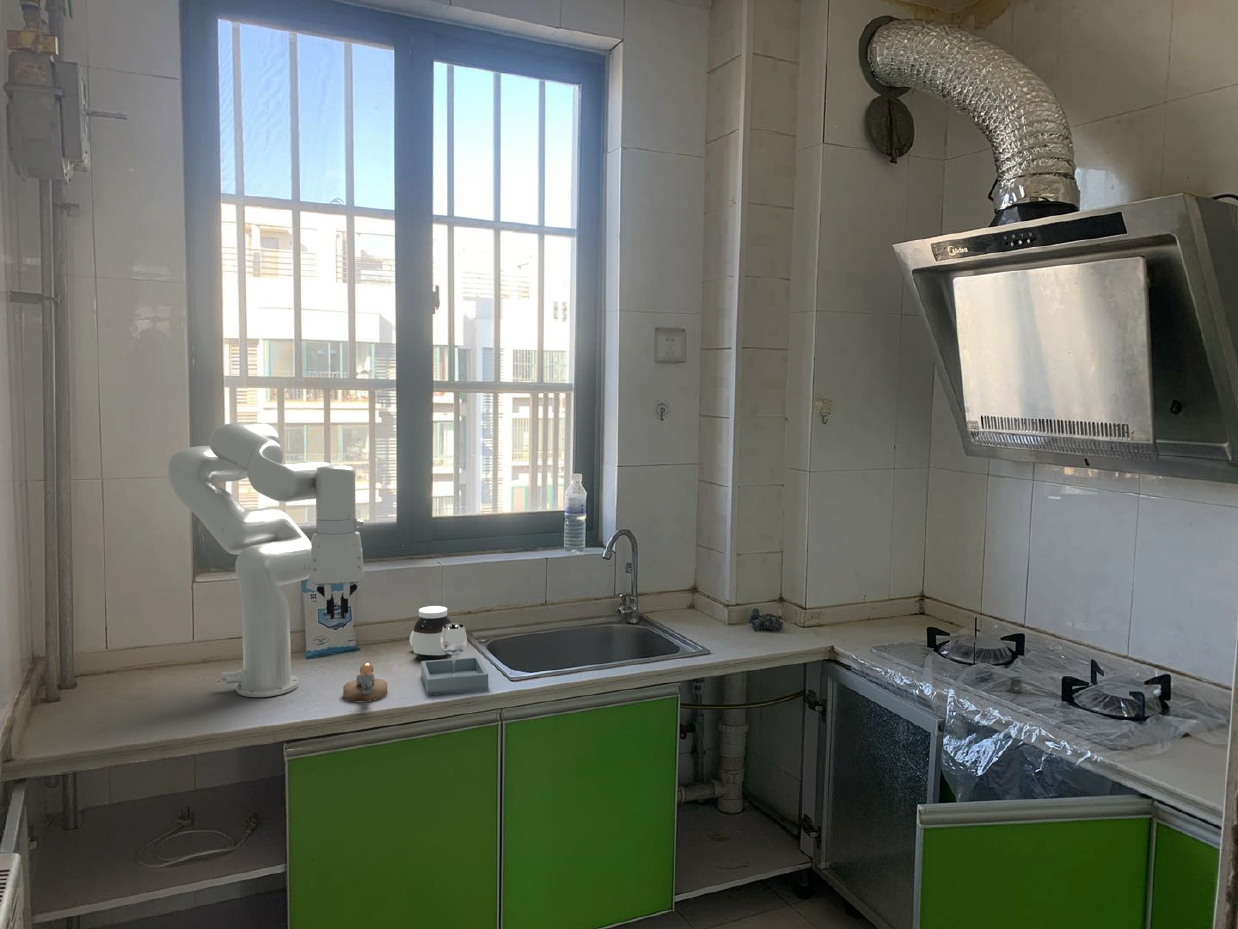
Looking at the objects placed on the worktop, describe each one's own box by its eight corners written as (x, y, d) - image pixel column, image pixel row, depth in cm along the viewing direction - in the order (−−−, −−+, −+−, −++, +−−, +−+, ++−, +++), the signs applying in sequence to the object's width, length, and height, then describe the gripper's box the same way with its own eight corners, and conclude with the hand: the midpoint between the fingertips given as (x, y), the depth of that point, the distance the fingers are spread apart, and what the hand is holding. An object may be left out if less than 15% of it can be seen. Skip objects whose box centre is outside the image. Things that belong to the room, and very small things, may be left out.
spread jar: (436, 664, 207) (436, 616, 206) (395, 658, 211) (394, 611, 210) (461, 650, 218) (461, 604, 217) (422, 645, 222) (421, 600, 221)
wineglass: (443, 674, 197) (443, 622, 196) (469, 675, 197) (469, 623, 196) (437, 683, 191) (437, 629, 190) (463, 683, 191) (463, 630, 190)
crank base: (343, 704, 180) (343, 694, 180) (343, 689, 189) (343, 680, 189) (388, 699, 183) (388, 690, 183) (386, 685, 192) (385, 676, 191)
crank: (356, 682, 187) (356, 651, 186) (373, 681, 188) (373, 650, 187) (358, 698, 177) (357, 666, 177) (376, 697, 178) (375, 664, 178)
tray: (427, 695, 186) (427, 679, 185) (421, 676, 198) (421, 661, 198) (488, 689, 190) (488, 674, 189) (478, 671, 202) (478, 656, 202)
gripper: (375, 522, 180) (376, 610, 182) (295, 525, 175) (297, 615, 177) (377, 528, 173) (378, 619, 175) (293, 531, 168) (295, 625, 170)
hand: (337, 616), depth 176 cm, fingers closed
